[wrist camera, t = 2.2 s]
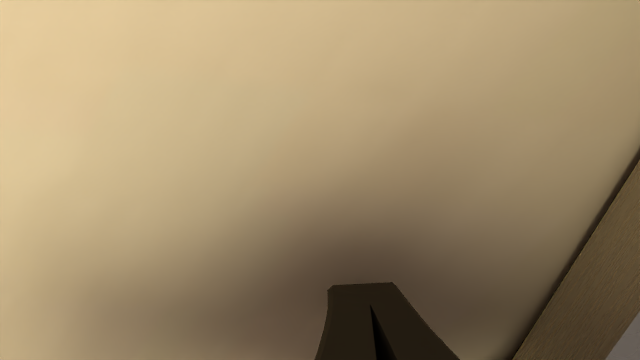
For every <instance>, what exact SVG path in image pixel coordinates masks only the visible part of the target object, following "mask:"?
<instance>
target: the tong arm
mask: <svg viewBox="0 0 640 360" xmlns="http://www.w3.org/2000/svg"><path fill="white" fill-rule="evenodd" d="M512 360H640V160H639V162H638V163H637V165H636V166H635V168H634V170H633V171H632V173H631V174H630V176H629V177H628V179H627V181H626V182H625V184H624V185H623V187H622V188H621V190H620V191H619V193H618V195H617V196H616V198H615V199H614V201H613V202H612V204H611V206H610V207H609V209H608V210H607V212H606V213H605V215H604V217H603V218H602V220H601V221H600V223H599V224H598V226H597V228H596V229H595V231H594V232H593V234H592V235H591V237H590V239H589V240H588V242H587V243H586V245H585V246H584V248H583V250H582V251H581V253H580V254H579V256H578V257H577V259H576V261H575V262H574V264H573V265H572V267H571V268H570V270H569V272H568V273H567V275H566V276H565V278H564V279H563V281H562V282H561V284H560V286H559V287H558V289H557V290H556V292H555V293H554V295H553V297H552V298H551V300H550V301H549V303H548V304H547V306H546V308H545V309H544V311H543V312H542V314H541V315H540V317H539V319H538V320H537V322H536V323H535V325H534V326H533V328H532V330H531V331H530V333H529V334H528V336H527V337H526V339H525V341H524V342H523V344H522V345H521V347H520V348H519V350H518V352H517V353H516V355H515V356H514V358H513V359H512Z"/></svg>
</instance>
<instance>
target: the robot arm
mask: <svg viewBox="0 0 640 360" xmlns="http://www.w3.org/2000/svg"><path fill="white" fill-rule="evenodd" d="M327 291H328V310H327V317H326V322H325V327H324V331H323V334H322V338H321V341H320V345H319V349H318V352H317V355H316V358H315V360H460V359H459V358H458V357H457V356H456V355H455V354H454V353H453V352H452V351H451V350H450V349H449V348H448V347H447V346H446V345H445V344H444V342H443V341H442V340H441V339H440V338H439V337H438V336H437V335H436V334H435V333H434V332H433V331H432V329H431V328H430V327H429V326H428V325H427V324H426V323H425V321H424V320H423V319H422V318H421V317H420V315H419V314H418V313H417V312H416V311H415V309H414V308H413V307H412V306H411V304H410V303H409V302H408V301H407V299H406V298H405V297H404V295H403V294H402V293H401V292H400V290H399V289H398V288H397V286H396V285H394V284H393V283H392V282H387V283H369V284H351V285H333V286H332V287H331V288H330V289H329V290H327Z"/></svg>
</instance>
